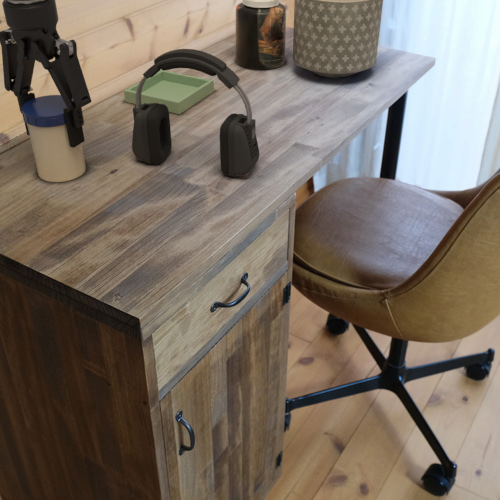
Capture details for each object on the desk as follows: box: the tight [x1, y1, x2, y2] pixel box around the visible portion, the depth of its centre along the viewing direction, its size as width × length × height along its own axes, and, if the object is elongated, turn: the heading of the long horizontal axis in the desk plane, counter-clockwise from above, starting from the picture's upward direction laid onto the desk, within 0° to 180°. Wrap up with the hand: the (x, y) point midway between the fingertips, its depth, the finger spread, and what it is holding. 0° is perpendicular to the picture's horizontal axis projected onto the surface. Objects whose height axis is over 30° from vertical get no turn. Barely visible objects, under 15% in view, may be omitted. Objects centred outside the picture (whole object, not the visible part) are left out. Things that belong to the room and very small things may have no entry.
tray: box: [123, 69, 215, 115], centre depth 137 cm, size 14×14×2 cm
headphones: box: [131, 48, 260, 178], centre depth 108 cm, size 22×6×20 cm, turn 72°
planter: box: [292, 0, 384, 79], centre depth 144 cm, size 19×19×18 cm
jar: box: [235, 0, 287, 71], centre depth 151 cm, size 12×12×15 cm
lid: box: [21, 94, 73, 127], centre depth 105 cm, size 9×9×2 cm
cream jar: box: [27, 124, 87, 183], centre depth 108 cm, size 8×8×12 cm
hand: (55, 137), depth 108 cm, fingers closed on lid, 9 cm apart
